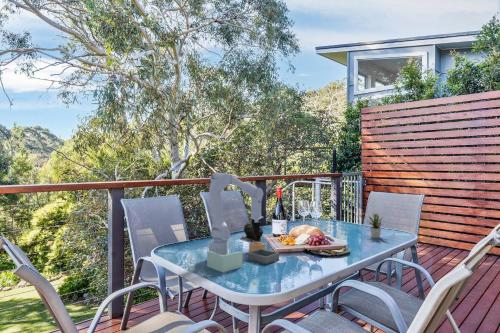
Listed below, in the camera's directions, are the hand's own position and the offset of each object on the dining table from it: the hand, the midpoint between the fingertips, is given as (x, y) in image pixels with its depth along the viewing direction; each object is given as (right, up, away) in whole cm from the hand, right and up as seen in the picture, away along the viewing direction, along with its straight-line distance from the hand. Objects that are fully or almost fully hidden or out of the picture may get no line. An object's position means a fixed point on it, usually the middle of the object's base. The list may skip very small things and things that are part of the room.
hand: (256, 232), depth 198 cm
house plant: (+78, -9, +33) cm, 85 cm away
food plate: (+39, -10, -2) cm, 41 cm away
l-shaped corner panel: (-15, -11, -30) cm, 35 cm away
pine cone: (0, -9, +29) cm, 30 cm away
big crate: (+3, -10, -19) cm, 21 cm away
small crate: (+1, -10, -5) cm, 11 cm away
